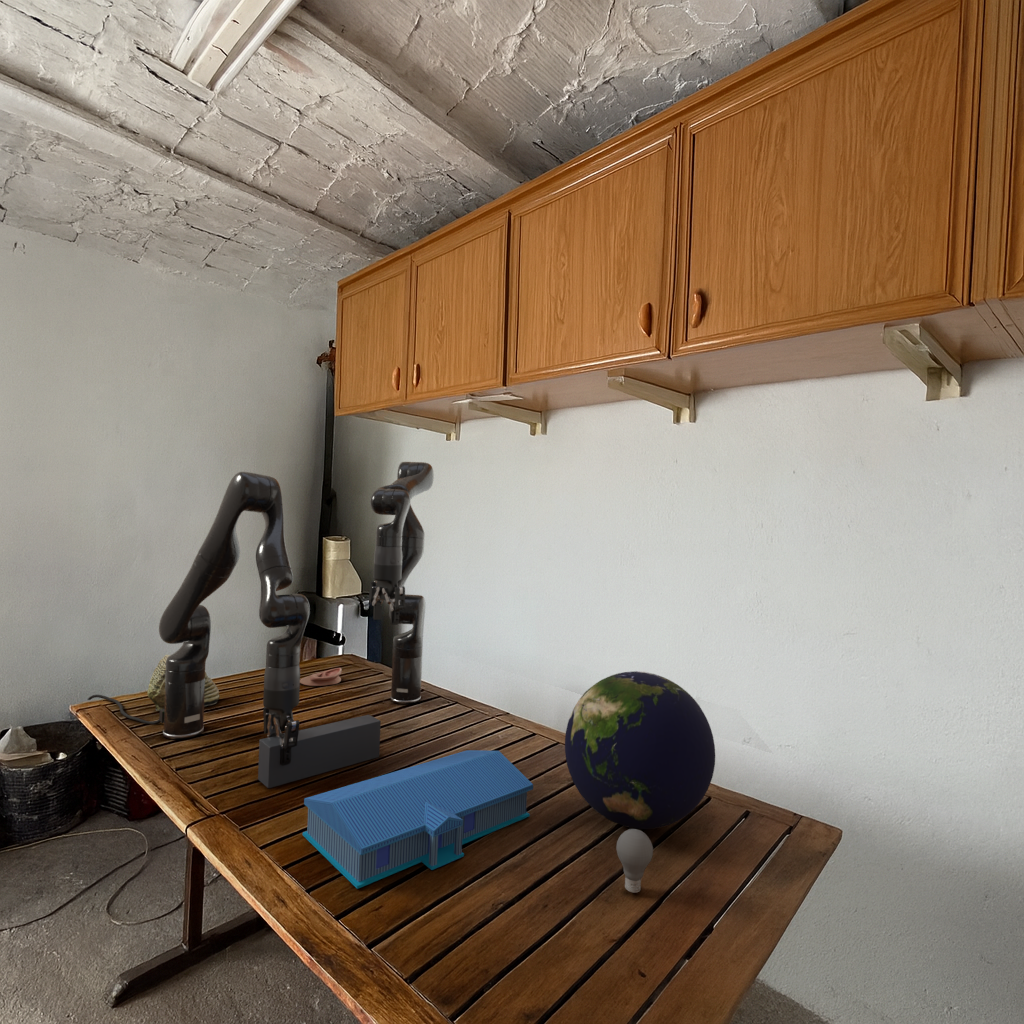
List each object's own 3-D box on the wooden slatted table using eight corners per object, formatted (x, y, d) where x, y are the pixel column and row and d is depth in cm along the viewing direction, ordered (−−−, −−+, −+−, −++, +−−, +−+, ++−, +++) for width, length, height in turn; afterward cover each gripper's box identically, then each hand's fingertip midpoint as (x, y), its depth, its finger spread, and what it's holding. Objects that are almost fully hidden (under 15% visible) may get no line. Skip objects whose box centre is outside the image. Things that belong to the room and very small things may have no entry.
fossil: (144, 707, 182) (145, 655, 182) (212, 696, 194) (213, 647, 194) (151, 716, 175) (153, 662, 175) (221, 703, 188) (223, 653, 188)
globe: (541, 837, 121) (548, 681, 121) (583, 776, 149) (589, 649, 148) (703, 878, 110) (712, 707, 109) (717, 804, 138) (723, 667, 137)
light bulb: (610, 879, 108) (613, 822, 108) (644, 879, 109) (647, 822, 109) (619, 902, 102) (622, 840, 102) (655, 901, 103) (658, 840, 103)
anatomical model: (293, 672, 210) (311, 663, 221) (292, 684, 210) (310, 675, 221) (330, 676, 207) (346, 667, 219) (329, 688, 208) (345, 678, 219)
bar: (268, 788, 136) (269, 747, 136) (257, 779, 140) (259, 739, 140) (379, 757, 155) (380, 720, 155) (367, 749, 159) (368, 714, 159)
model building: (367, 898, 100) (369, 836, 100) (301, 833, 119) (303, 781, 118) (541, 822, 127) (543, 772, 127) (465, 778, 145) (467, 735, 145)
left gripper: (312, 689, 138) (309, 766, 138) (284, 674, 148) (282, 745, 149) (279, 695, 133) (276, 775, 133) (252, 679, 143) (249, 753, 143)
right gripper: (414, 564, 169) (412, 625, 170) (385, 559, 180) (383, 616, 180) (390, 565, 164) (388, 628, 164) (362, 560, 175) (360, 619, 175)
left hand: (279, 759), depth 141 cm, fingers closed on bar, 5 cm apart
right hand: (385, 621), depth 172 cm, fingers open, 8 cm apart
